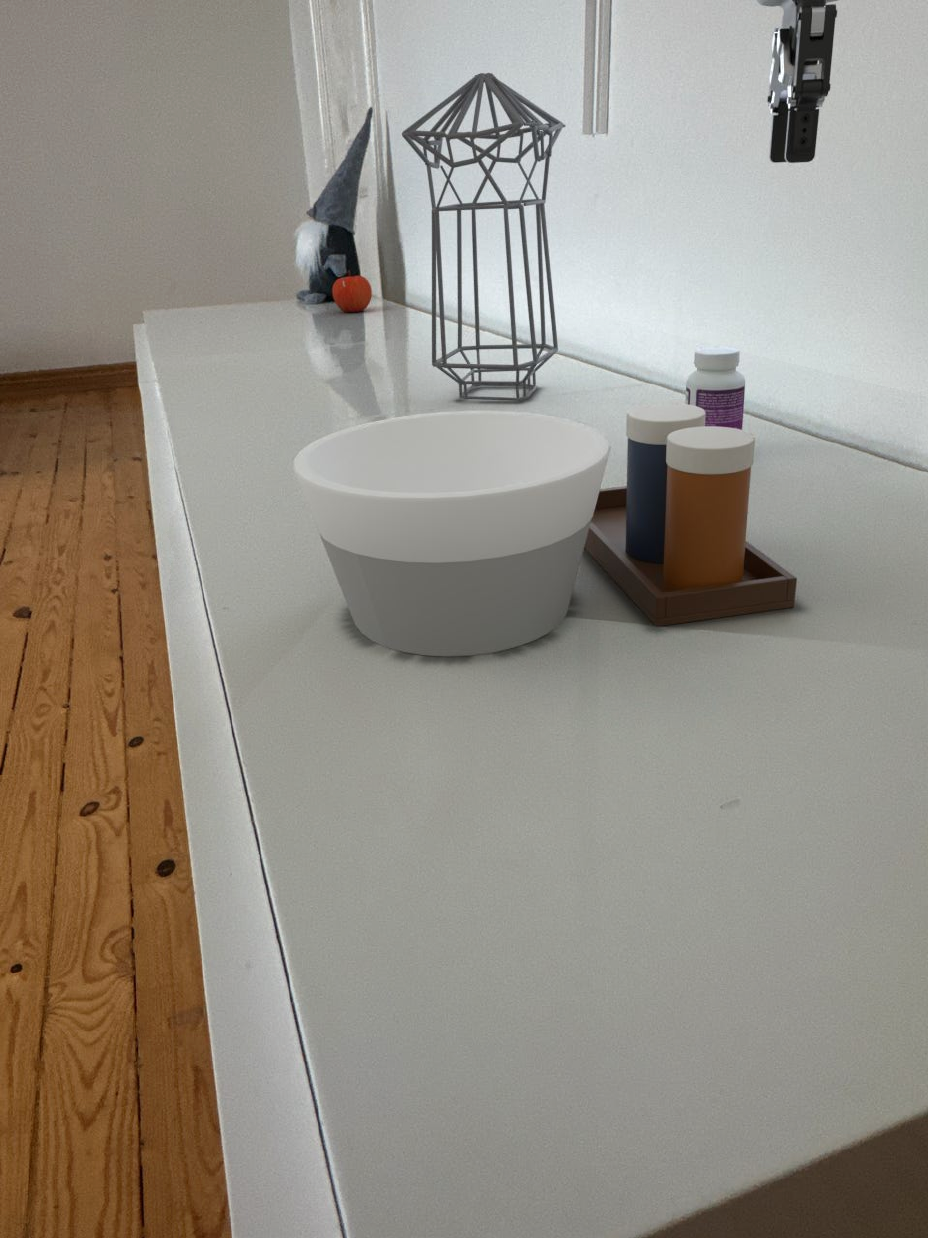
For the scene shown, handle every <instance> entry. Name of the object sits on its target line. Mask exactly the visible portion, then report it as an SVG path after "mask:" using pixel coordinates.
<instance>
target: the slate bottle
mask: <svg viewBox="0 0 928 1238" xmlns="http://www.w3.org/2000/svg"><path fill="white" fill-rule="evenodd" d="M705 415H706V413H705V410H704V409H702V408H700V407H697V406H693V405H688V404H685V403H678V402H659V403H658V402H657V403H656V402H655V403H648V404H647V403H646V404H642V405H638V406H635V407H631V408H630V409H628V410H627V412H626V427H625V428H626V431H625V434H626V437H627V450H626V453H627V455H626V486H627V501H626V552H627V554H628V555H629V556H631V557H633V558H635V559H638V560H641V561H645V562H651V563H664V545H665V519H666V492H667V466H668V465H667V463H666V448H667V436H668V435H669V434H670V433H672V432H674V431H677V430H680V429H685V428H691V427H703V426H705Z"/></svg>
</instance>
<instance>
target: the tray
mask: <svg viewBox="0 0 928 1238" xmlns="http://www.w3.org/2000/svg"><path fill="white" fill-rule="evenodd" d="M626 501H627V485H623V486H617V487H608V488H600V491H599V495H598V499H597V503H596V506H595V510H594V514H593V517H592V519H591V523H590V527H589V531H588V534H587V538H586V542H585V546H584V549H585V550H586V551H587V553H589V555H590V556H591V557H592V559H594V560H595V561H596V562H597V563H598V565H600V567H601V568H602V569H603V570H604V571H605V572H606V574H608V576H609V577H610V578H611V579H612V580H613V581H614V582H615V583H616V584H617V585H618V587H619V588H620V589H621V590H622V591H623V592H624V593H625V594H626V595H627V597H629V599H630V600H631V601H632V602H633V603H634V604H635V605H636V606H637V607H638V609H639V610H640V611H641V612H642V613H643V614H644V615H645V616H646V617H647V618H648V619H649V620H650V622H651V623H652V624H653V625H654V626H655V627H663V626H670V625H677V624H685V623H693V622H699V621H705V620H713V619H718V618H726V617H734V616H740V615H746V614H755V613H760V612H761V613H763V612H768V611H774V610H782V609H783V610H784V609H789V608H794V607H795V599H796V591H797V583H798V578H797V577H796V576H794V575H793V574H792V573H791V572H789V571H788V570H786V569H785V568H783V567H782V566H781V565H780V564H778V563H777V562H776V561H774V560H773V559H771V558H770V557H769V556H767V554H764V553H763V552H762V551H760V550H759V549H758V548H756V547H755V546H753V545H752V544H751V543H749V541H747V540H746V542H745V555H744V568H743V581H742V582H737V583H730V584H722V585H715V586H708V587H701V588H693V589H686V590H679V591H671V592H665V590H664V588H663V572H664V563H651V562H645V561H641V560H638V559H635V558H633V557H631V556H629V555H628V554H627V552H626Z"/></svg>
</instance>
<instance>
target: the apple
mask: <svg viewBox="0 0 928 1238" xmlns="http://www.w3.org/2000/svg"><path fill="white" fill-rule="evenodd" d="M347 273H348V276H345V277H340V278H338V279H336V280H335V282H334V283H333V285H332V298H333V301H334V303H335V305H336V306H337V307H338V308H339V310H341V311H342V312H344V313H353V314H354V313H359V312H362V311H364V310H366V309H367V308H368V306H369V304H370V303H371V300H372V298H373V297H372V295H373V290H372V286H371V284H370V282H369V281H368V279H367V278H366V277H365V276H363V275H355V276H351V270H350V269H348V270H347Z"/></svg>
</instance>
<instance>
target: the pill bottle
mask: <svg viewBox="0 0 928 1238" xmlns="http://www.w3.org/2000/svg"><path fill="white" fill-rule="evenodd" d="M693 359H694V360H693V364H694V367H695V368H696V370H694V371H693V372H691V373H690V374H689V375H688V376H687V378H686V381H685V383H686V384H685V402H684V404H688V405H693V406H697V407H700V408H702V409H704V410H705V413H706V415H705V426H717V427H729V428H736V429H740V430H743V426H744V424H743V423H744V410H745V409H744V408H745V395H746V393H745V392H746V378H745V376H744V374H743V373H742V372H741V371H739V370H737V367H738V366H739V364H740V349H738V348H736V347H732V346H731V347H729V346H709V347H707V346H706V347H702V348H698V349H695V351H694V357H693Z"/></svg>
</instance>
